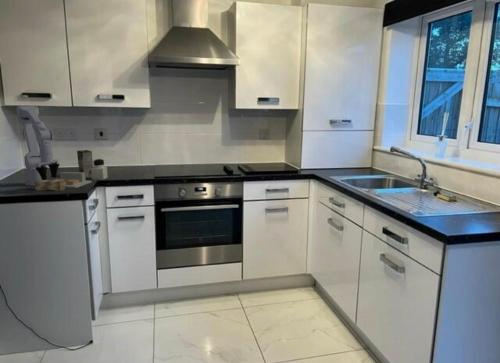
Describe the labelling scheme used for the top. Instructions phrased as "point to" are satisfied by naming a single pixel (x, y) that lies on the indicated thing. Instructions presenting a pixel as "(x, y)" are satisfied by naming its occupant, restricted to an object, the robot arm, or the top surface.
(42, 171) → the robot arm
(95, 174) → the medicine bottle
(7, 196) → the top surface
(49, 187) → the ash bar
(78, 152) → the coffee box
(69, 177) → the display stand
